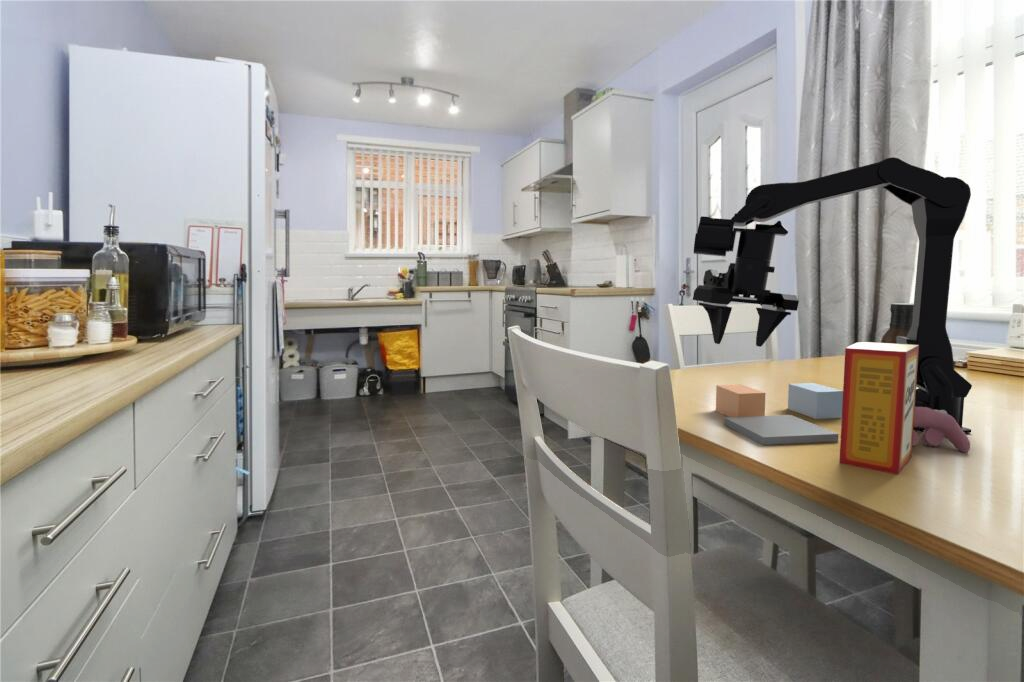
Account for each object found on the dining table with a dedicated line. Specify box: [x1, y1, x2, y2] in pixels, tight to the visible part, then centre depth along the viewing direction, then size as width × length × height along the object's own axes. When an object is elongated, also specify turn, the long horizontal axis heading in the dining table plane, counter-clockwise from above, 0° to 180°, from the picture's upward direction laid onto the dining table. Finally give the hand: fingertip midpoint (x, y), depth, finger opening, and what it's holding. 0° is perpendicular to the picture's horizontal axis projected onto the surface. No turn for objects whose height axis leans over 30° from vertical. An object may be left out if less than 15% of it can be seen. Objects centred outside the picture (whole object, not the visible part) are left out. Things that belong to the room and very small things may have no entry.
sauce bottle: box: [880, 302, 914, 344], centre depth 101 cm, size 6×6×20 cm
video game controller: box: [912, 407, 971, 454], centre depth 77 cm, size 10×5×7 cm, turn 84°
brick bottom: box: [715, 383, 766, 417], centre depth 98 cm, size 5×8×5 cm, turn 6°
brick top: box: [787, 382, 843, 420], centre depth 98 cm, size 5×8×5 cm, turn 7°
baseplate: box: [723, 414, 839, 446], centre depth 86 cm, size 12×12×1 cm
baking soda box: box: [839, 341, 919, 475], centre depth 72 cm, size 10×6×16 cm
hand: (738, 344), depth 97 cm, fingers open, 9 cm apart
